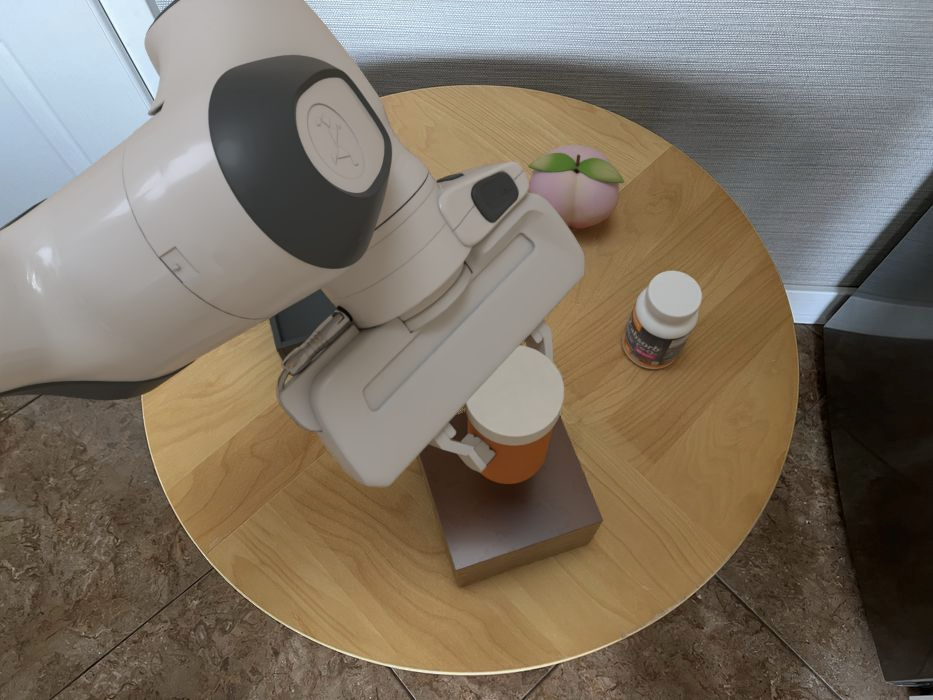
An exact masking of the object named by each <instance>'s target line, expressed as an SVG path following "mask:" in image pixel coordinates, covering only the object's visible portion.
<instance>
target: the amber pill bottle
mask: <svg viewBox="0 0 933 700" xmlns="http://www.w3.org/2000/svg"><path fill="white" fill-rule="evenodd" d="M553 362H554V361H553ZM553 362H552V361H551V360H550V359H549V358H548V357H546V356H545V355H544V354H542V353H541V352H539V351H537V350H535V349H532V348H530V347H526V345H522V344H521V345H519V346H518V347H517V348H516V349H515V350H514V351H513V352H512V353H511V355H510V356H509V357H508V358H507V359H506V360H505V361H504V362H503V363H502V364H501V365H500V366H499V368H498V369H497V370H496V371H495V372H494V373H493V374H492V375H491V376H490V377H489V378H488V379H487V380H486V382H485V383H484V384H483V385H482V386H481V387H480V388H479V389H478V390H477V391H476V392H475V393H474V394H473V396H472V397H471V398H470V399H469V400H468V401H467V402H466V404H465V405H464V406H463V407H464V410H465V411H466V414H467V416H468V433H470V434H473V435H475V437H477V436H478V437H480V438H482V439H484V440H485V442H486V443H487V444H488V445H489V448H490V449H491V450H493V451H494V452H495V453H496V456H495V458H494V459H493V460H492V461H491V462H490V464H489V465H488V466H487V467H486V468H485V469H484V470H483V471H482V473H481V474H482V475H483V476H485V477H486V478H488V479H490V480H492V481H494V482H498V483H503V484H514V483H519V482H522V481H524V480H527V479H528V478H530V477H531V476H533V475H534V474H535V473H536V472H537V471H538V470H539V469H540V467H541V466H542V464H543V462H544V459H545V456H546V452H547V448H548V445H549V441H550V437H551V433H552V429H553V426H554V425H555V423H556V422H557V420H558V418H559V415H560V416H561V411H562V408H563V404H564V400H565V385H564V379H563V380H562V377H561V374H562V373H561V371H560V369H557V368H558V367H557V365H556V364H555V362H554V363H553ZM554 364H555V365H556V366H555V365H554ZM559 371H560V372H559ZM560 373H561V374H560Z"/></svg>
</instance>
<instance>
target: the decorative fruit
mask: <svg viewBox="0 0 933 700" xmlns="http://www.w3.org/2000/svg"><path fill="white" fill-rule="evenodd" d="M527 167H528V169H531V170H532V172H531V176H530V178H529V184H530V186H529V190H528V192H527V193H534V194H538V195H540V196H542V197H543V198H545V199H546V200H547V201H548V202H549V203H550V204H551V205H552V206H553V207H554V209H555V210H556V211H557V212H558V214H559V215H560V216H561V218H562V219H563V220H564V222H565V223H566V225H567V226H568V227H571V228H575V229H585V228H589V227H592V226H595V225H598V224H600V223H601V222H603V221H605V220H607V219H608V218H609V217H610V216H611V215H612V214H613V213H614V211H615V210H616V208H617V206H618V203H619V197H620V184H624V183H625V180H624V177H623V176H622V174H621V172H619V170H618V169H617V168H616V167H615V166H613V164H612V162H611V161H610V159H609V158H608V157H607V156H606V155H605V154H604V153H602V152H601V151H600V150H598V149H596V148H594V147H591V146H586V145H583V144H582V145H581V144H565V145H559V146H558V147H554V148H552V149H551V150H549V151H547V152H546V153H545V154H544V155H542V156H540V157H538V158H536V159H535V160H534V161H532V162H531V163H530V164H529V165H528V166H527Z"/></svg>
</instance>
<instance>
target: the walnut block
mask: <svg viewBox="0 0 933 700" xmlns="http://www.w3.org/2000/svg"><path fill="white" fill-rule="evenodd" d="M449 423H450V424H451V425H452V427H453V428H454V429H455V431H456V435H455V436H454V437H453V438H450V439H453V440H456V441H461V440H462V439H463V438H464V437H465V436H466V435H467V434H468V416H467V414H466V410H465V411H462V412H458V413H457V414H456V415H455V416H454V417H453V418H452V419H451V420H450V421H449ZM568 433H569V432H568V431H567V429H566V426H565V424H564V421H563V418H562V417H561V414H560V415H559V418H558V420H557V422H556V423H555V425H554V426H553V429H552V433H551V437H550V441H549V445H548V448H547V452H546V456H545V459H544V462H543V464H542V466H541V467H540V469H539V470H538V471H537V472H536V473H535V474H534V475H533V476H531V477H530V478H528V479H527V480H524V481H522V482H519V483H514V484H503V483H498V482H494V481H492V480H490V479H488V478H486V477H485V476H483V475H482V474H481V473H480V472H478V471H475V470H473V469H471V468H470V467H468V466H467V465H466V464H465V463H464V462H463V460H462V459H461V458H460V457H459V455H458V454H457V453H453V452H449V451H446V450H442V449H440V448H437V447H435V446H432V445H429V444H428V445H427V446H426V447H425V448H424V450H423V451H422V452H421V453H420V454H419V455H418V456H417V457H416V459H417V462H418V466H419V469H420V472H421V475H422V479H423V481H424V484H425V488H426V491H427V494H428V497H429V501H430V505H431V508H432V511H433V513H434V517H435V520H436V524H437V526H438V527H437V528H438V530H439V533H440V536H441V539H442V542H443V547H444V549H445V552H446V556H447V558H448V562H449V565H450V568H451V571H452V574H453V577H454V581H455V584H456V588H457V589H461V588H463V587H465V586H470V585H472V584H475V583H478V582H481V581H484V580H486V579H489V578H493V577H496V576H499V575H501V574H505V573H507V572H510V571H513V570H516V569H519V568H523V567H525V566H528V565H531V564H534V563H536V562H540V561H542V560H545V559H548V558H551V557H554V556H557V555H560V554H563V553H567V552H569V551H572V550H574V549H577V548H581V547H584V546H586V545H590V543H591V542H592V540H593V539H594V537H595V535H596V534H597V532H598V530H599V529H600V527H601V526H602V524H603V523H604V519H603V516H602V514H601V512H600V508H599V506H598V504H597V501H596V499H595V497H594V494H593V492H592V489H591V486H590V484H589V482H588V479H587V477H586V475H585V472H584V470H583V467H582V465H581V462H580V460H579V458H578V454H577V453H576V450H575V448H574V446H573V443H572V441H571V438H570V436H569V434H568Z"/></svg>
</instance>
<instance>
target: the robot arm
mask: <svg viewBox="0 0 933 700" xmlns="http://www.w3.org/2000/svg"><path fill="white" fill-rule="evenodd" d="M143 43H144V50H145V52H146V55H147V56H148V59H149V61H150V63H151V65H152V66H153V68H154V70H155V71H156V73H157V75H158V77H159V80H158V86H157V91H156V93H155V97H154V100H153V102H152V104H151V106H150V108H149V109H148V111H147V115H148V116H151V117H150V118H149V119H148V120H146V121H145V122H144V123H143V124H141V125H140V126H138V128H136V129H135V130H133V132H132V133H131V134H130V135H129V136H127V137H126V138H125V139H124V140H122V141H121V142H119V143H118V144H117V145H115V146H114V147H113V148H111V149H110V150H109V151H108V152H106V153H105V154H104V155H102V156H101V157H100V158H99V159H97V160H96V161H95V162H94V163H92V164H91V165H89V166H88V167H87V168H85V169H84V170H83V171H81V172H80V173H78V174H77V175H76V176H75V177H73V179H71V180H70V181H68V182H67V183H66V184H64V185H63V186H62V187H60V188H59V189H58V190H57V191H55V192H54V193H53V194H51V195H50V196H49V197H47V198H44V199H42V200H41V201H39V202H37V203H35V204H34V205H32V206H31V207H29V208H28V209H26V210H25V211H23V212H21V213H20V214H19V215H17V216H16V217H14V218H12V220H10V221H8V222H7V223H6V224H4V225H2V227H0V399H1V398H7V397H15V396H28V395H29V396H51V397H62V398H63V397H64V398H72V399H81V400H90V401H91V400H92V401H120V400H128V399H132V398H137V397H140V396H142V395H145V394H148V393H149V392H152V391H154V390H155V389H157V388H158V387H160V386H161V385H163V384H164V383H166V382H168V381H169V380H170V379H172V377H175V376H176V375H177V374H179V373H181V372H182V371H183V370H185V369H186V368H188V367H189V366H190V365H192V364H193V363H195V362H196V361H197V360H198V359H200V358H202V357H203V356H205V355H207V354H208V353H210V352H212V351H214V350H216V349H217V348H219V347H221V346H223V345H225V344H226V343H229V342H230V341H232V340H233V339H235V338H237V337H239V336H240V335H242V334H245V333H246V332H247V331H250V330H251V329H253V328H255V327H257V326H258V325H260V324H262V323H264V322H266V321H267V320H269V318H271V317H273V316H274V315H276V314H277V313H279V312H281V311H282V310H284V309H286V308H288V307H289V306H291V305H293V304H295V303H297V302H298V301H300V300H302V299H304V298H306V297H307V296H309V295H311V294H312V293H314V292H316V291H317V290H319V289H321V290H322V291H323V292H324V294H325V295H326V296H327V297H328V298H329V300H330V301H331V302H332V303H333V305H334V306H335V307H336V308H337V309H336V310H335V311H334V312H333V313H332V314H331V315H330V316H329V317H328V318H327V319H326V320H325V321H324V322H323V323H322V324H321V325H320V326H318V328H317V329H316V330H315V332H313V333H312V335H311V336H310V337H309V338H308V339H307V340H306V341H305V342H304V343H303V344H302V345H301V346H300V347H297V348H295V349H294V350H293V351H291V352H290V353H289V354H288V356H287V357H286V358H285V359H284V361H282V362H281V364H280V366H281V367H282V371H281V372H280V374H279V375H278V378H277V381H276V384H275V385H276V386H275V394H276V395H275V396H276V399H277V402H278V404H279V406H280V407H281V409H282V410H283V411H284V412H285V413H286V414H287V415H288V416H289V417H290V419H291V420H292V421H293V422H294V423H295V424H296V426H298V427H300V428H301V429H303V430H305V431H308V432H311V433H315V434H316V435H317V436H318V438H319V440H320V441H321V443H322V444H323V446H324V447H325V449H326V450H327V452H328V453H329V454H330V455H331V457H332V458H333V459H334V460H335V462H336V463H337V464H338V466H339V467H340V468H341V469H342V471H344V472H345V474H347V475H348V476H349V477H350V478H351V479H353V480H355V481H356V482H357V483H359V484H361V485H362V486H365V487H369V488H387V487H389V486H391V485H392V484H393V483H394V482H395V481H396V480H397V479H398V478H399V477H400V476H401V475H402V474H403V473H404V472H405V471H406V469H407V468H408V467H409V466H410V465H411V464H412V463H413V461H415V460H416V459H417V456H418V455H419V454H420V453H421V452H422V451H423V450H424V448H425V447H426V446H427V445H428V444H429V445H432V446H435V447H437V448H440V449H442V450H446V451H449V452H453V453H457V454H458V455H459V457H460V458H461V459H462V460H463V462H464V463H465V464H466V465H467V466H468V467H470V468H471V469H473V470H475V471H478V472H480V473H482V471H483V470H484V469H485V468H486V467H487V466H488V465H489V464H490V462H491V461H492V460H493V459H494V458H495V456H496V453H495V452H494V451H493V450H491V449H490V448H489V445H488V444H487V443H486V442H485V440H484V439H482V438H480V437H478V436H477V437H475V435H473V434H470V433H468V434H467V435H466V436H465V437H464V438H463V439H462V440H461V441H456V440H453V439H450V438H453V437H454V436H455V435H456V431H455V429H454V428H453V427H452V425H451V424H450V423H449V421H450V420H451V419H452V418H453V417H454V416H455V415H456V414H459V413H460V411H461V410H462V409H463V407H465V406H464V405H465V404H466V402H467V401H468V400H469V399H470V398H471V397H472V396H473V394H474V393H475V392H476V391H477V390H478V389H479V388H480V387H481V386H482V385H483V384H484V383H485V382H486V380H487V379H488V378H489V377H490V376H491V375H492V374H493V373H494V372H495V371H496V370H497V369H498V368H499V366H500V365H501V364H502V363H503V362H504V361H505V360H506V359H507V358H508V357H509V356H510V355H511V353H512V352H513V351H514V350H515V349H516V348H517V347H518V346H519V345H521V346H522V344H523V343H524V342H525V346H526V347H530V348H532V349H535V350H537V351H539V352H541V353H542V354H544V355H545V356H546V357H548V358H549V359H550V360H551V361H552V362H553V363H554V365H555V366H556V367H557V365H556V364H555V362H554V347H553V333H552V329H551V327H550V326H549V325H548V323H547V322H546V320H545V319H546V318H547V317H548V316H549V315H550V313H552V311H554V309H555V308H556V307H557V306H558V305H559V304H560V303H561V302H562V300H564V299H565V297H566V296H567V295H568V294H570V292H571V291H572V290H573V289H574V288H575V287H576V285H577V284H579V282H580V281H581V280H582V279H583V278H584V277H585V273H586V257H585V253H584V250H583V248H582V247H581V245H580V243H579V241H578V240H577V238H576V236H575V235H574V233H573V231H572V230H571V229H570V227H569V226H567V225H566V223H565V222H564V220H563V219H562V218H561V216H560V215H559V214H558V212H557V211H556V210H555V209H554V207H553V206H552V205H551V204H550V203H549V202H548V201H547V200H546V199H545V198H543V197H542V196H540V195H538V194H534V193H528V190H529V186H530V184H529V183H530V179H529V177H528V175H527V173H526V172H525V170H524V168H523V167H522V165H521V164H520V163H518V162H517V161H513V160H512V161H502V162H493V163H489V164H488V163H487V164H483V165H479V166H475V167H471V168H468V169H465V170H461V171H458V172H455V173H452V174H450V175H446V176H443V177H441V178H438V179H436V178H435V177H434V175H433V174H432V172H431V171H430V169H429V168H428V166H426V164H425V163H424V162H423V160H422V159H420V158H419V157H418V156H417V155H416V154H414V153H413V152H412V151H410V149H408V148H407V147H406V145H405V144H404V143H403V142H402V141H401V139H399V137H398V136H397V134H396V133H395V131H394V129H393V127H392V125H391V122H390V120H389V117H388V114H387V111H386V108H385V106H384V103H383V101H382V99H381V98H380V95H378V93H377V91H376V90H375V88H374V87H373V86H372V84H371V83H370V82H369V79H368V78H367V77H366V75H365V74H364V73H363V72H362V69H360V67H359V66H358V65H357V63H356V62H355V60H354V59H353V58H352V57H351V55H350V54H349V53H348V51H347V50H346V49H345V47H344V45H342V43H341V42H340V41H339V40H338V38H337V37H336V36H335V34H333V32H332V31H331V30H330V29H329V26H328V25H326V24H325V22H324V21H323V20H322V19H321V17H319V15H318V14H317V13H316V12H315V10H313V8H312V7H311V6H310V5H309V4H308V2H306V1H305V0H172V1H171V2H170V3H169V4H168V5H167V6H165V8H164V9H162V11H160V13H159V14H158V15H157V16H156V17H155V19H154V20H153V22H152V23H151V25H149V27H148V29H147V31H146V33H145V37H144V41H143ZM557 369H558V367H557ZM558 370H559V369H558ZM559 372H560V374H561V377H562V380H563V381H564V376H563V374H562V372H561V371H560V370H559ZM289 376H290V377H291V378H289V379H288V380H287V378H288V377H289Z"/></svg>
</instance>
